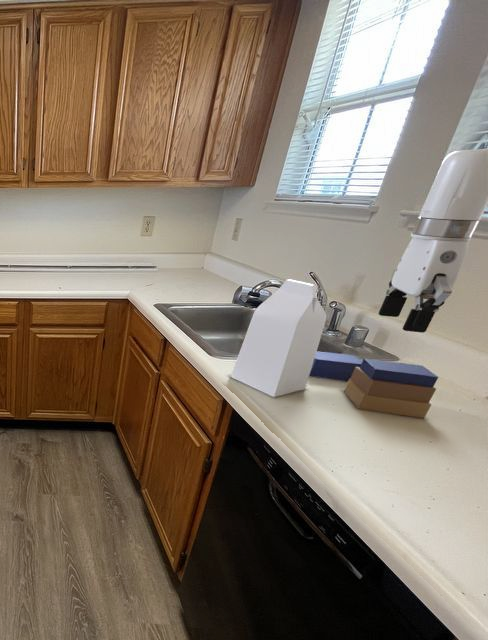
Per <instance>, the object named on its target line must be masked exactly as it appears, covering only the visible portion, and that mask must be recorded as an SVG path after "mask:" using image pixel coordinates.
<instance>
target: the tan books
mask: <svg viewBox="0 0 488 640" xmlns="http://www.w3.org/2000/svg"><path fill="white" fill-rule="evenodd" d="M436 391H437V388H436V387H435V386H434V387H427V386H419V385H412V384H404V383H397V382H389V381H382V380H374V379H371V378H370V377H369V376H368V375H367V374H366V373H364V372H363V371H362V370H361V369H360V367H355V369H354V372H353V374H352V376H351V378H350V379H349V381H347V383H346V386H345V388H344V391H343V392H344V393H345V394H346V396H347V397H348V398H349V399H350V400H351V402H352V403H353V404H354V405H355V406H356V408H357V409H361V410H368V411H373V412H380V413H388V414H393V415H401V416H406V417H412V418H413V417H414V418H419V419H420V418H422V419H425V417H426V416H427V414H428V412H429V410H430V408H431V407H432V403H430V401H432V400H431V399H432V398H433V396H434V394H435V392H436Z"/></svg>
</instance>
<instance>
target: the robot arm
mask: <svg viewBox="0 0 488 640" xmlns="http://www.w3.org/2000/svg"><path fill="white" fill-rule="evenodd" d="M487 207H488V147H487V148H482V149H461V150H456V151H453V152H451V153H449V154H448V155H446V157H444V159H443V161H442V162H441V164H440V167H439V169H438V172H437V173H436V176H435V178H434V181H433V183H432V185H431V188H430V190H429V192H428V194H427V197H426V198H425V202H424V203H423V206H422V209H421V211H420V212H419V215H418V217H417V220H416V222H415V223H414V227H413V229H412V231H411V234H410V237H411V240H410V242H409V243H408V245H407V247H406V249H405V250H404V252H403V254H402V256H401V258H400V261H399V262H398V265H397V267H396V269H394V270H392V273H391V278H390V281H389V283H388V289H387V290H386V291H385V297H384V298H383V301H382V304H381V306H380V309H379V310H378V315H379V316H381V317H392V318H399V317H400V314H401V313H402V310H403V308H404V306H405V304H406V301H407V299H408V297H407V295H408V296H411V297H413V298H414V308H411V309H410V311H409V313H408V316H407V318H406V319H405V322H404V324H403V326H402V331H404V332H413V333H422V334H423V333H426V332H427V330H428V328H429V327H430V324H431V322H432V320H433V318H434V316H435V314H436V313H437V312H439V310H440V307H442V306H444V305H445V303H446V302H445V301H446V300H447V299H448V298H449V297H450V296H451V295H452V293H453V289H454V286H455V284H456V282H457V279H458V278H459V275H460V272H461V270H462V267H463V264H464V263H465V260H466V256H467V254H468V249H469V245H470V241H471V240H472V237H473V236H474V234H475V231H476V230H477V227H478V225H479V223H480V221H481V219H482V217H483V216H484V213H485V211H486V209H487ZM424 300H425V301H424Z"/></svg>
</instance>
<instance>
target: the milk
mask: <svg viewBox="0 0 488 640" xmlns="http://www.w3.org/2000/svg"><path fill="white" fill-rule="evenodd" d="M317 295H318V294H317V285H316V284H313V283H309V282H304V281H299V280H295V279H289V278H288V279H285V281H284V282H283V283H282V284H281V286H280V287H279V288H278V289H277V290H276V291H275V292H273V294H271V295H270V296H269V297H268V298H266V299H265V300H264V301H263V302H262V303H260V304H259V305H258V306H257V308H256V309H255V310H254V312H253V315H252V317H251V319H250V322H249V324H248V325H249V326H248V328H247V331H246V333H245V336H244V339H243V342H242V344H241V347H240V350H239V352H238V355H237V357H236V360H235V363H234V366H233V369H232V371H231V374H230V378H233V379H234V380H237V381H239V382H241V383H243V384H245V385H247V386H249V387H251V388H253V389H256V390H258V391H259V392H262V393H264V394H266V395H269V396H271V397H273V398H276V397H279V396H283V395H284V396H285V395H287V394H290V393H291V394H292V393H294V392H295V393H296V392H299V391H302V390H305V389H306V387H307V384H308V382H309V377H310V376H309V374H310V371H311V368H312V364H313V361H314V358H315V355H316V351H318V349H319V345H320V342H321V338H322V334H323V331H324V328H325V325H326V322H327V314H326V311H325V309H324V308H323V306H322V304H321V302H320V301H319V300H318V296H317Z"/></svg>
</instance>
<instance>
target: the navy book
mask: <svg viewBox="0 0 488 640" xmlns="http://www.w3.org/2000/svg"><path fill="white" fill-rule="evenodd" d="M360 369H361V370H362V371H363V372H364V373H366V374H367V375H368V376H369V377H370V378H371V379H374V380H382V381H389V382H397V383H404V384H412V385H419V386H427V387H435V385H436V383H437V381H438V379H439V376H437V375H436V374H435V373H434V372H432V371H431V370H429V369H428V368H427V367H425V366H424V365H421V364H414V363H411V364H410V363H405V362H395V361H387V360H380V359H372V358H363V360H362V364H361V366H360Z"/></svg>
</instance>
